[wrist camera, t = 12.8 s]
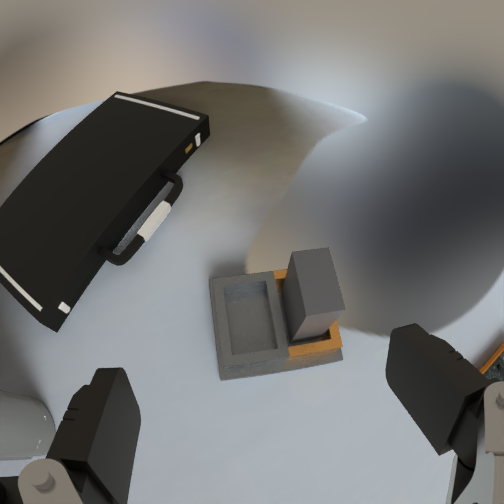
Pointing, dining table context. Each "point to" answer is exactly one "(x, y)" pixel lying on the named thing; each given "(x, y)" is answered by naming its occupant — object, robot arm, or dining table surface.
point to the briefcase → (92, 200)
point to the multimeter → (495, 366)
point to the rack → (261, 329)
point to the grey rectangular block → (311, 295)
